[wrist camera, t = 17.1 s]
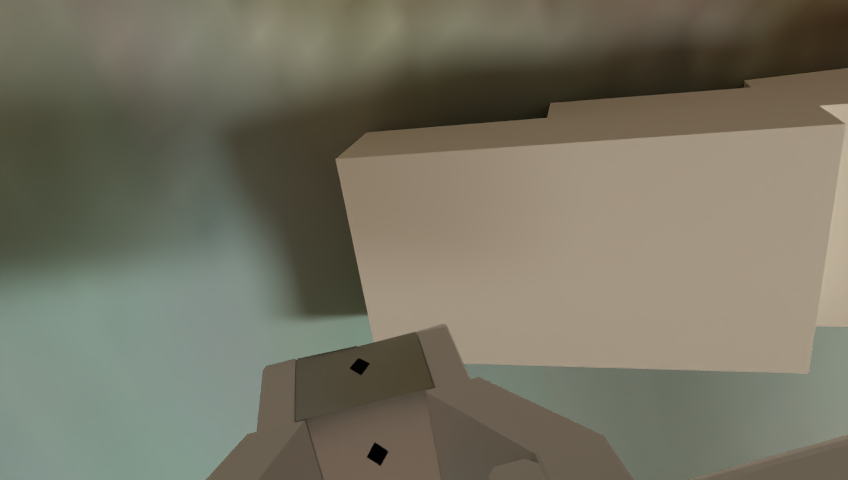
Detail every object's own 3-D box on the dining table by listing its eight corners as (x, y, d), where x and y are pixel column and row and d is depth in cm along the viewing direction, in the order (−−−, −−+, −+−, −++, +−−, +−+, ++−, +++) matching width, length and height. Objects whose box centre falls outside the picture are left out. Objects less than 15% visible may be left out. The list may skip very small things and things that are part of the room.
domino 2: (555, 321, 15) (994, 329, 13) (545, 124, 13) (1069, 88, 10) (558, 282, 17) (944, 282, 14) (550, 103, 15) (1000, 68, 12)
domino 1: (377, 360, 14) (808, 373, 12) (335, 158, 12) (845, 123, 10) (399, 315, 16) (779, 317, 14) (366, 132, 14) (805, 96, 11)
